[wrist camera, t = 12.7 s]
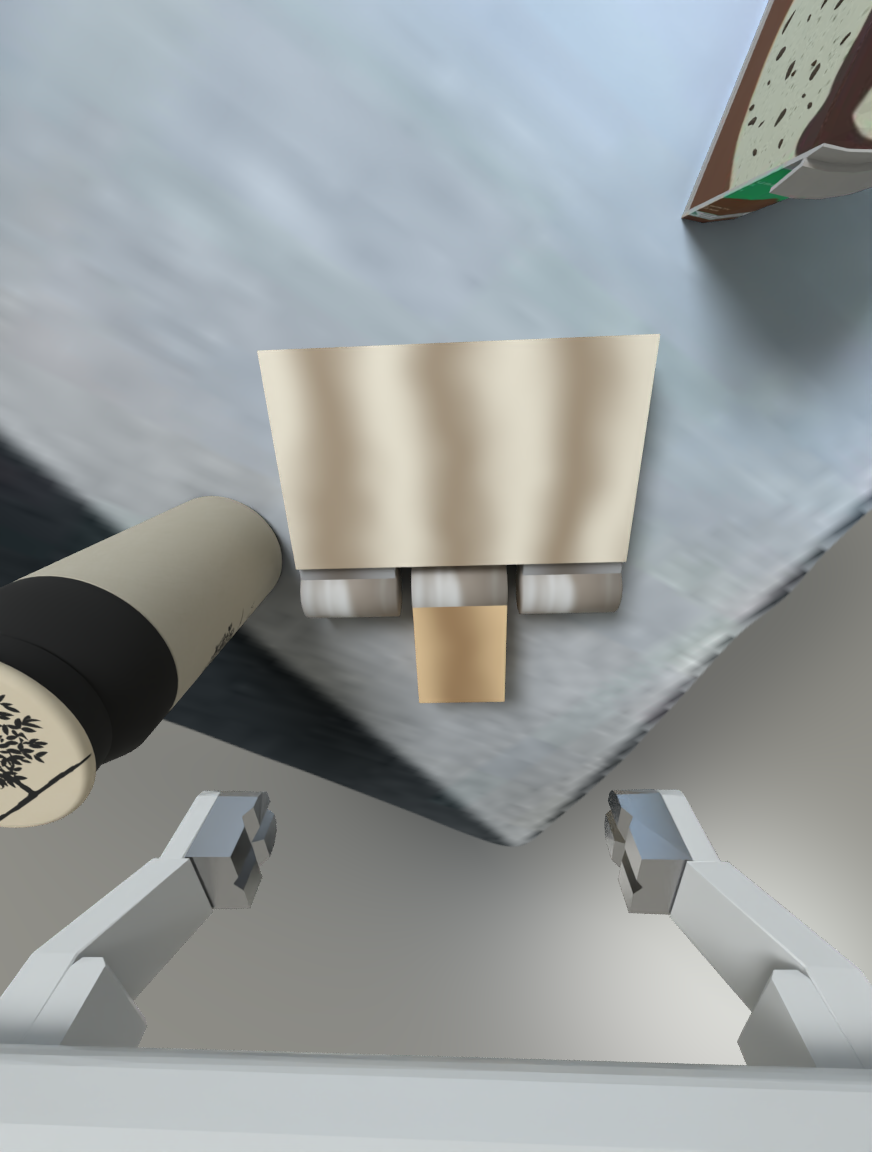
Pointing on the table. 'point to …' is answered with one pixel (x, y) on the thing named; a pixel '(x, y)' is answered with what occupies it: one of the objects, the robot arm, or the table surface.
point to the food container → (794, 113)
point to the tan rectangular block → (460, 632)
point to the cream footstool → (461, 465)
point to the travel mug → (118, 645)
